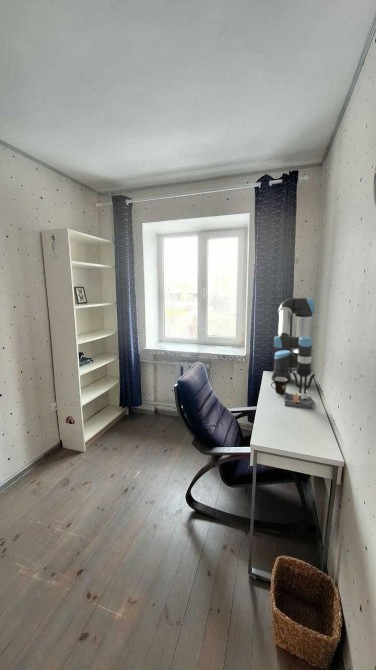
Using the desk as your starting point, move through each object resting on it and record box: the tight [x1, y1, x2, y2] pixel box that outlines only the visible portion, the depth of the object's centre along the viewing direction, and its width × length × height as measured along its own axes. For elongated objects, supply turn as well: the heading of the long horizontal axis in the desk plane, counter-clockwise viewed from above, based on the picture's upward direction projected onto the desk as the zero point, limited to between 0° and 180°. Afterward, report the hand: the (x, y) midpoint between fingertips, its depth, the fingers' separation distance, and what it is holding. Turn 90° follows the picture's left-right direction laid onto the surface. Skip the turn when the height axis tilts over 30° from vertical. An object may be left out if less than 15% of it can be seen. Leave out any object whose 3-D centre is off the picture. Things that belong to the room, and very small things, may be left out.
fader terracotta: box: [293, 392, 300, 402], centre depth 172 cm, size 3×3×5 cm
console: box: [284, 393, 313, 410], centre depth 176 cm, size 14×16×3 cm
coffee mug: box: [270, 377, 288, 395], centre depth 191 cm, size 12×9×10 cm
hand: (302, 398), depth 171 cm, fingers closed
